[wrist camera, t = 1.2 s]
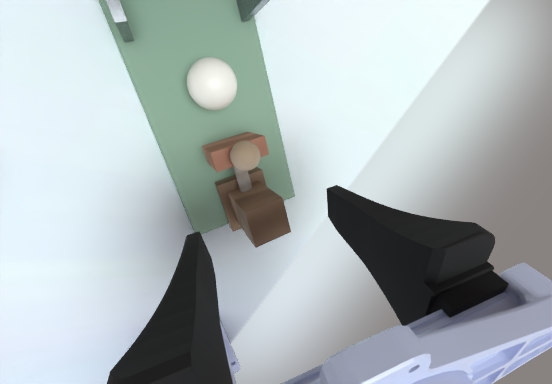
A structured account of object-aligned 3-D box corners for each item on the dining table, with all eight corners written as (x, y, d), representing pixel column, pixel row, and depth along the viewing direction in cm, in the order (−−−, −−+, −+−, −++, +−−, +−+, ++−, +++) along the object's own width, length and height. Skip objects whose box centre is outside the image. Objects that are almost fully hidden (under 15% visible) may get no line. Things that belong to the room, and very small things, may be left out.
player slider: (269, 210, 25) (300, 237, 20) (229, 226, 24) (250, 260, 18) (246, 128, 22) (275, 133, 17) (200, 142, 21) (215, 153, 15)
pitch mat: (292, 194, 26) (294, 196, 26) (195, 233, 24) (196, 236, 23) (239, -36, 19) (241, -40, 19) (90, -21, 16) (88, -24, 16)
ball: (236, 104, 21) (249, 102, 18) (194, 115, 20) (200, 116, 17) (223, 57, 20) (234, 47, 17) (177, 66, 19) (181, 58, 16)
